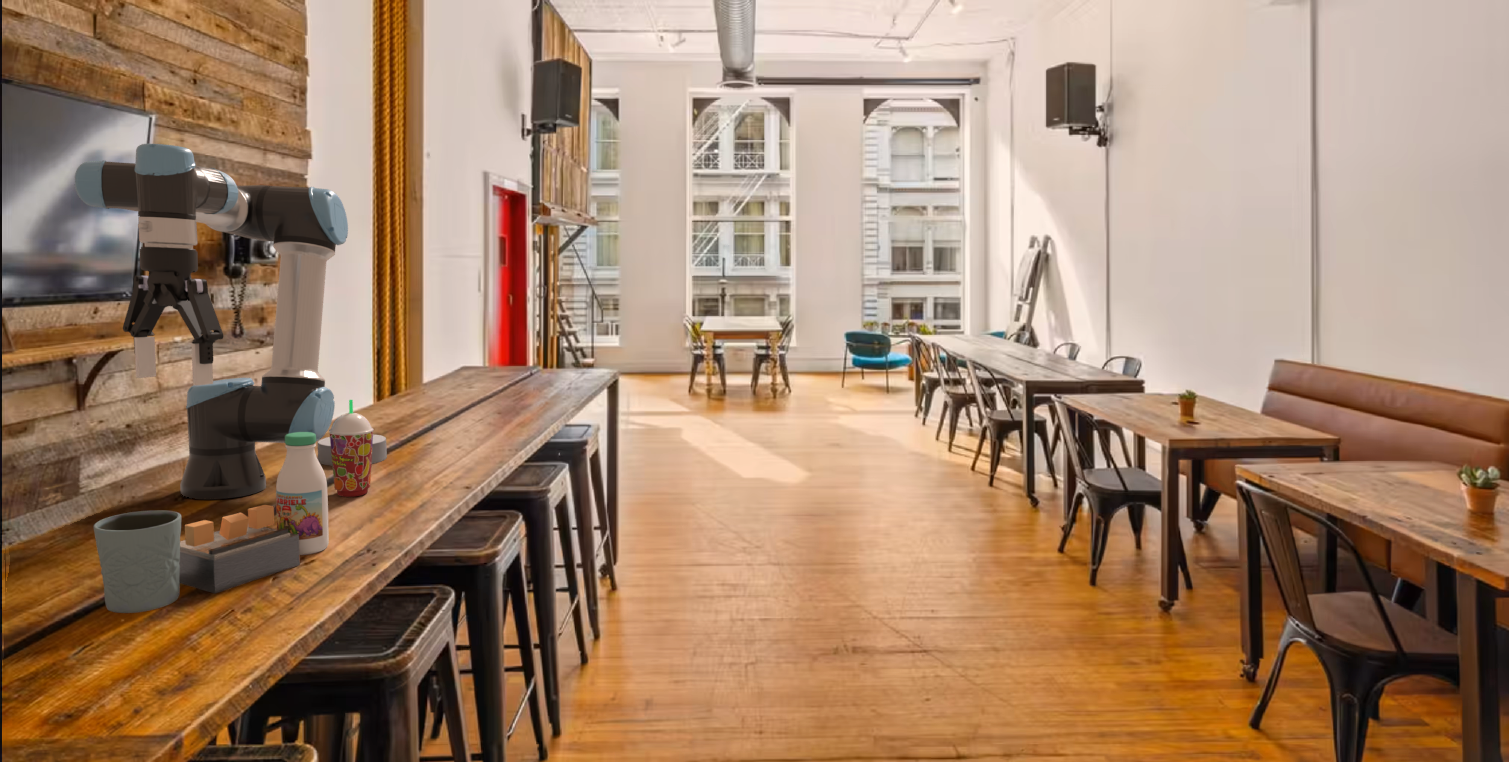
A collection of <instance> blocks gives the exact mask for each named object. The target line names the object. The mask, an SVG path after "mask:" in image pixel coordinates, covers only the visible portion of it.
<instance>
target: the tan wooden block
mask: <svg viewBox="0 0 1509 762" xmlns="http://www.w3.org/2000/svg"><path fill="white" fill-rule="evenodd" d="M274 507H275V506H273V505H269V504H262V505H258V506H254V507H251V508H247V517H249V523H248V525H249V527H250V528H254V529H259V528H263V527H269V526H275V508H274Z"/></svg>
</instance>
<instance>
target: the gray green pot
mask: <svg viewBox="0 0 1509 762" xmlns="http://www.w3.org/2000/svg"><path fill="white" fill-rule="evenodd" d="M93 533H94V537H95V538H94V539H95V544H96V551H97V554H98V558H99V564H100V567H101V571H100V574H101V576H102V583H103V588H104V589H103V593H104V595H103V596H104V602H105V606H106V609H107V610H108V611H110V612H113V613H120V614H130V613H131V614H133V613H134V614H136V613H143V612H147V611H153V610H157V609H161V608H163V607H166V606H168V605H171V604H173V603H174V602H176V601H177V600H178V599H179V597H180V590H181V589H180V588H181V586H180V585H181V584H180V582H179V573H180V565H179V561H180V541H181V533H182V514H181V513H180V512H177V511H173V510H162V509H161V510H159V509H158V510H141V511H132V512H127V513H121V514H116V515H112V516H109V517H105V518H103V519H100V520H99V521H97V522H95V523H94V524H93Z"/></svg>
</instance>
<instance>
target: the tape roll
mask: <svg viewBox="0 0 1509 762" xmlns="http://www.w3.org/2000/svg"><path fill="white" fill-rule="evenodd" d="M316 443H317V444H316V445H317V459H318V461H319V463H320V465H326V466H331V467H333V466H332V455H331V444H330V436H328V437H327V436H326V437H324V438H321V439H320V440H318V441H317V442H316ZM387 451H388V449H387V438H386V436H385V435H384V436H383V435H380V434H374V433H373V443H372V462H371V465H373V464H377V463H380V462H382V461H383V462H384V461H385V460H386V459H387V458H388V457H387V455H388V453H387Z"/></svg>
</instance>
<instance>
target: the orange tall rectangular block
mask: <svg viewBox="0 0 1509 762" xmlns="http://www.w3.org/2000/svg"><path fill="white" fill-rule="evenodd" d="M214 530H215V527H214V521H210V520H206V519H203V520H200V521H196V522H191V523H188V524H187V523H186V524H185V525H184V535H185V536H184V537H185V538H184V540H185V541H186V545H190V546H193V547H195V546H199V545H202V544H206V543H210V542H213V541H214V532H215V531H214Z"/></svg>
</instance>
